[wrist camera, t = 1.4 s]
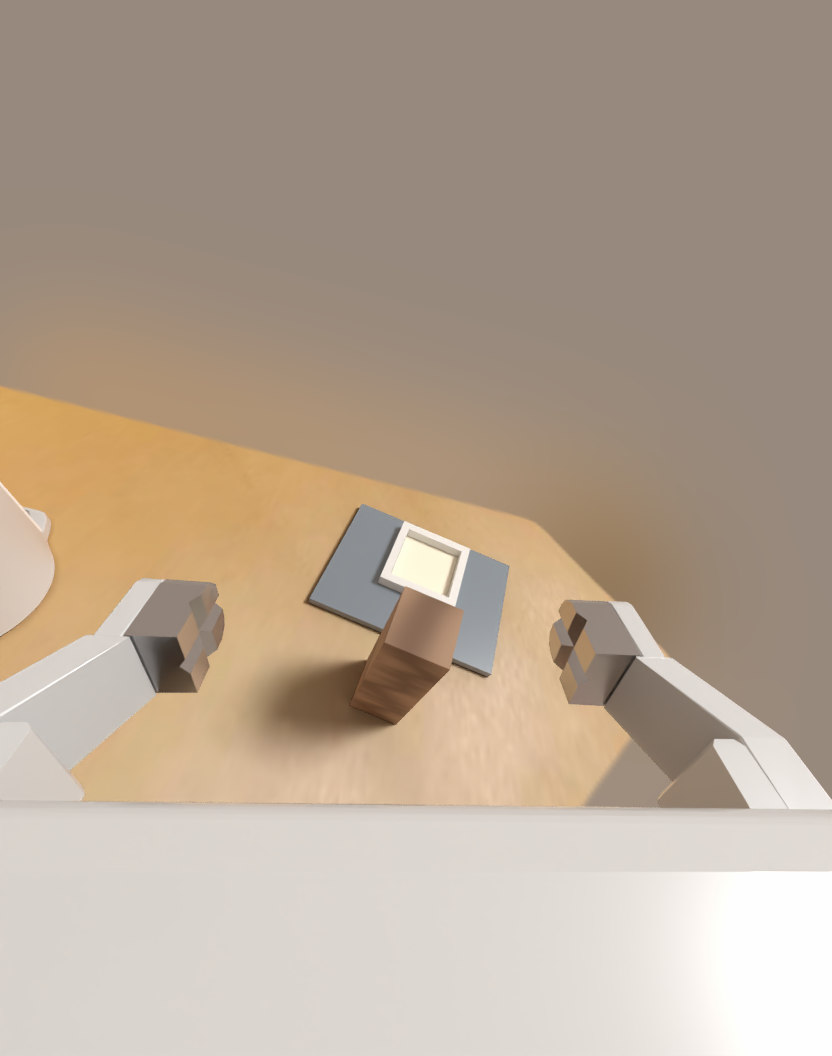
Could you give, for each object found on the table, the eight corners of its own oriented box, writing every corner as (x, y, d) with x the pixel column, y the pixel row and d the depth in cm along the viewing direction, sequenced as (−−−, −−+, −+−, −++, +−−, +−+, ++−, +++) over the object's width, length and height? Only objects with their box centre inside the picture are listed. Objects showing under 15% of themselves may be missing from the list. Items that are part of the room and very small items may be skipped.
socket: (377, 582, 49) (380, 576, 48) (401, 527, 55) (404, 520, 54) (450, 613, 49) (454, 607, 48) (466, 555, 55) (470, 548, 54)
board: (308, 602, 46) (309, 598, 45) (360, 508, 57) (362, 503, 56) (487, 677, 46) (491, 674, 46) (506, 569, 57) (509, 566, 56)
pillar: (349, 705, 41) (384, 642, 29) (367, 659, 44) (405, 585, 32) (395, 724, 41) (449, 669, 29) (410, 677, 44) (464, 610, 32)
